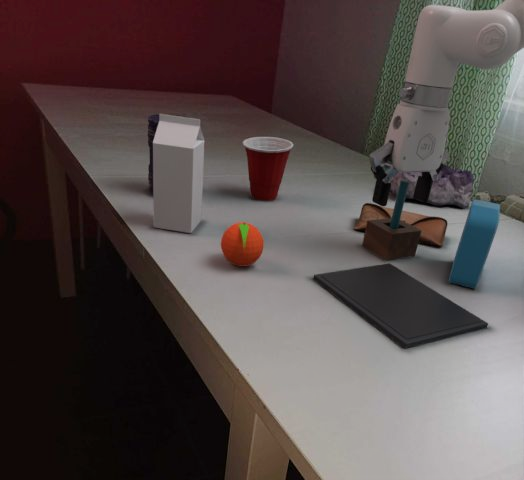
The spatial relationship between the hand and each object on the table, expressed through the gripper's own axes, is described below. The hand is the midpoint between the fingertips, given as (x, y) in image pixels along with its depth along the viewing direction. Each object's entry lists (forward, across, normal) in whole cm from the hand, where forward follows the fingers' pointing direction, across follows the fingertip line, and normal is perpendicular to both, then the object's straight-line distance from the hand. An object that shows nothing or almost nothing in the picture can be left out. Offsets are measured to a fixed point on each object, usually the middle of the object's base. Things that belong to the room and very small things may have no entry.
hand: (399, 202), depth 95 cm
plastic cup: (+9, -8, +34) cm, 36 cm away
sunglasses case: (+9, +9, +7) cm, 15 cm away
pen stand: (+9, 0, 0) cm, 9 cm away
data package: (+9, +6, -13) cm, 17 cm away
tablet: (+9, -13, -17) cm, 23 cm away
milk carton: (+9, -33, +22) cm, 41 cm away
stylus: (+9, 0, 0) cm, 9 cm away
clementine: (+9, -30, +2) cm, 32 cm away
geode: (+9, +33, +24) cm, 42 cm away
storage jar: (+9, -27, +41) cm, 50 cm away
